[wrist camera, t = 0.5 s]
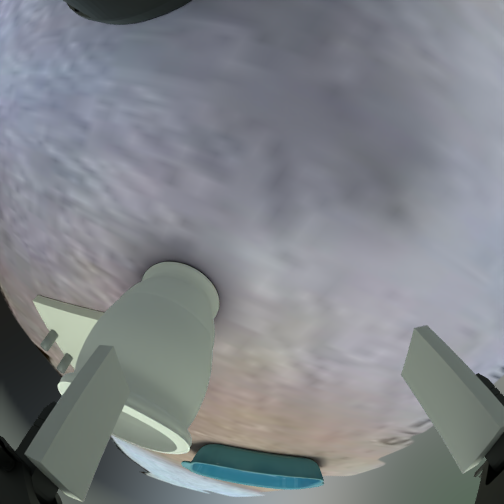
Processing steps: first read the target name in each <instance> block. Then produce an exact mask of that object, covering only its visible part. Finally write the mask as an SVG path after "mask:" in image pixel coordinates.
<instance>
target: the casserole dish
mask: <svg viewBox="0 0 504 504" xmlns="http://www.w3.org/2000/svg"><path fill="white" fill-rule="evenodd" d="M181 464H182V466H183V467H185V468H187V469H189V470H190V471H191V472H194V473H196V474H199V475H202V476H206V477H210V478H214V479H218V480H223V481H228V482H233V483H238V484H244V485H250V486H257V487H265V488H274V489H305V488H312V487H318V486H321V485H323V484H324V482H323V481H324V480H323V477H322V474H321V471H320V468H319V466H318V464H317V463H316V462H314V461H313V460H312V459H308V458H301V457H293V456H285V455H278V454H271V453H264V452H258V451H252V450H247V449H241V448H236V447H231V446H226V445H220V444H208V445H205V446H203V447H202V448H201V449H200V450H199V451H198V452H197V454H196V455H195V457H194V458H193V460H192V461H191V462H190V461H183V462H182V463H181Z"/></svg>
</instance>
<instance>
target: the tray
mask: <svg viewBox="0 0 504 504" xmlns="http://www.w3.org/2000/svg"><path fill="white" fill-rule="evenodd" d="M33 302H34V304H35V306H36V308H37V310H38V312H39V314H40V316H41V317H42V319H43V321H44V323H45V324H46V326H47V328H48V330H49V331H50V332H49V333H48V335H47V336H46V338H45V339H44V340H43V342H42V343H41V347H42V348H43V349H44V350H45V351H48V350H49V349H50V347H51V346H52V344H53V343H54V342H55V341H56V343H57V344H58V346H59V347H60V349H61V350H62V352H63V353H64V357H63V359H62V360H61V362H60V363H59V365H58V366H57V369H58V370H59V371H60V372H61V373H63V374H64V373H65V371H66V369H67V368H68V366H69V364H71V365H72V367H73V368H74V369H75V366H76V362H77V359H78V356H79V353H80V351H81V348H82V346H83V344H84V342H85V340H86V338H87V336H88V335H89V333H90V331H91V330H92V328H93V327H94V325H95V324H96V322H97V321H98V320H99V319H100V317H101V316H102V315H103V314H104V312H100V311H95V310H91V309H87V308H83V307H79V306H75V305H72V304H68V303H64V302H60V301H57V300H53V299H50V298H46V297H43V296H40V295H38V296H37V297H36V298H35V299H34V300H33Z"/></svg>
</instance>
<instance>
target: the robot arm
mask: <svg viewBox="0 0 504 504" xmlns="http://www.w3.org/2000/svg"><path fill="white" fill-rule="evenodd" d="M63 1H65V2H66V3H67V4H68V6H69V7H70V8H71V9H72V10H73V11H74V12H75V13H76V14H78V15H79V16H81V17H84V18H86V19H89V20H93V21H97V22H102V23H106V24H114V25H124V24H133V23H138V22H142V21H146V20H150V19H153V18H156V17H158V16H161V15H164V14H166V13H168V12H170V11H173V10H175V9H177V8H179V7H181V6H182V5H184V4H186V3H188V2H189V1H191V0H63ZM401 375H402V377H403V378H404V380H405V381H406V383H407V384H408V386H409V387H410V389H411V390H412V392H413V393H414V395H415V396H416V398H417V400H418V401H419V403H420V404H421V406H422V407H423V409H424V410H425V412H426V414H427V415H428V417H429V418H430V420H431V421H432V423H433V425H434V426H435V428H436V429H437V431H438V433H439V434H440V436H441V437H442V439H443V441H444V443H445V444H446V446H447V448H448V449H449V451H450V453H451V454H452V456H453V458H454V460H455V461H456V463H457V465H458V466H459V468H460V470H461V472H462V473H465V472H467V471H468V470H470V469H472V468H473V467H475V466H476V465H477V464H478V463H479V462H480V461H481V460H482V459H483V458H484V456H485V458H486V459H487V460H486V462H485V463H484V464H483V465H482V466H481V467H480V468H479V469H478V470H477V471H476V472H475V475H474V477H476V476H477V475H478V474H479V473H480V472H481V471H482V470H483V471H482V473H481V475H480V476H479V477H481V481H480V486H479V490H478V494H477V498H476V501H475V504H504V396H503V395H502V394H500V391H499V390H498V389H497V388H495V386H494V385H493V384H492V383H491V382H490V380H489V379H487V378H486V377H484V376H482V375H480V374H479V373H478V374H476V375H475V374H474V372H473V371H472V370H471V369H470V368H469V367H468V366H467V365H466V364H465V363H464V362H463V361H462V360H461V359H460V358H459V357H458V356H457V355H456V354H455V353H454V352H453V351H452V350H451V349H450V348H449V347H448V346H447V345H446V343H445V342H443V341H442V340H441V339H440V338H439V337H438V336H437V335H436V334H435V333H434V332H433V331H432V330H431V329H430V328H429V327H428V326H427V325H426V326H422V327H417V328H414V331H413V335H412V339H411V343H410V346H409V350H408V354H407V357H406V360H405V364H404V367H403V370H402V373H401ZM130 392H131V391H130V389H129V386H128V384H127V381H126V379H125V376H124V374H123V371H122V368H121V366H120V363H119V360H118V357H117V354H116V351H115V349H114V346H108V345H99V346H98V347H97V349H96V350H95V351H94V353H93V354H92V355H91V357H90V358H89V359H88V361H87V362H86V363H85V365H84V366H83V367H82V369H81V370H80V371H79V373H78V374H77V376H76V377H75V378H74V380H73V381H72V382H71V384H70V385H69V387H68V388H67V390H66V391H65V392H64V394H63V395H62V397H61V398H60V400H59V401H58V402H57V403H56V402H52V403H51V404H49V405H48V406H47V407H45V408H44V409H43V411H42V412H41V414H40V415H39V417H38V419H36V421H35V422H34V426H32V427H31V428H30V430H29V431H28V433H27V434H26V436H25V438H24V439H23V440H22V442H21V444H20V445H19V447H18V449H17V450H16V451H14V450H13V449H12V448H11V446H10V445H9V444H8V443H7V442H6V440H5V439H4V438H3V437H1V436H0V504H62V501H61V498H60V496H59V495H58V493H57V491H58V489H60V490H61V491H62V492H63V493H65V494H66V495H67V496H69V497H72V498H74V499H76V500H79V501H81V502H84V499H85V497H86V494H87V491H88V489H89V486H90V484H91V481H92V479H93V476H94V474H95V471H96V469H97V467H98V464H99V461H100V459H101V457H102V454H103V452H104V450H105V447H106V445H107V443H108V441H109V438H110V436H111V434H112V432H113V429H114V427H115V425H116V423H117V420H118V418H119V416H120V414H121V412H122V409H123V407H124V405H125V403H126V401H127V399H128V396H129V394H130Z"/></svg>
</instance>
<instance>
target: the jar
mask: <svg viewBox="0 0 504 504" xmlns="http://www.w3.org/2000/svg"><path fill="white" fill-rule="evenodd" d="M218 310H219V297H218V293H217V291H216V289H215V287H214V286H213V284H212V283H211V282H210V280H209V279H208V278H207V277H206V276H205V275H203V274H202V273H201V272H199V271H198V270H196V269H195V268H193V267H190V266H188V265H185V264H182V263H178V262H162V263H158V264H156V265H154V266H152V267H150V268H149V269H148V270H147V271H146V272H145V274H144V276H143V278H142V281H141V282H139V283H137V284H136V285H134V286H133V287H131V288H130V289H129V290H128V291H127V292H125V293H124V294H123V295H122V296H121V297H120V299H119V300H117V301H116V302H115V303H114V304H113V305H112V306H111V307H110V308H109V309H108V310H107V311H106V312H105V313H104V314H103V315H102V316H101V317H100V319H99V320H98V321H97V322H96V324H95V325H94V327H93V328H92V330H91V331H90V333H89V335H88V336H87V338H86V340H85V342H84V344H83V346H82V348H81V351H80V353H79V356H78V359H77V362H76V366H75V371H74V372H73V373H68V374H65V375H64V376H63V377H62V378H61V380H60V383H59V384H58V389H59V392H60V394H61V395H63V394H64V392H65V391H66V390H67V388H68V387H69V385H70V384H71V382H72V381H73V380H74V378H75V377H76V376H77V374H78V373H79V371H80V370H81V369H82V367H83V366H84V365H85V363H86V362H87V361H88V359H89V358H90V357H91V355H92V354H93V353H94V351H95V350H96V349H97V347H98V346H99V345H108V346H114V349H115V351H116V354H117V357H118V360H119V363H120V366H121V368H122V371H123V374H124V376H125V379H126V381H127V384H128V386H129V389H130V391H131V392H130V394H129V396H128V399H127V401H126V403H125V405H124V407H123V409H122V412H121V414H120V416H119V418H118V420H117V423H116V425H115V427H114V429H113V432H112V434H111V435H113V436H115V437H117V438H119V439H122V440H124V441H126V442H129V443H131V444H134V445H136V446H139V447H142V448H146V449H149V450H153V451H157V452H162V453H168V454H184V453H187V452H189V450H190V446H191V444H192V438H191V435H190V433H189V431H188V430H187V429H188V427H189V426H190V425H191V423H192V422H193V420H194V418H195V417H196V415H197V413H198V411H199V409H200V407H201V404H202V402H203V399H204V397H205V394H206V391H207V387H208V384H209V380H210V375H211V369H212V356H213V346H214V337H215V326H214V318H215V316H216V315H217V313H218Z"/></svg>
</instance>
